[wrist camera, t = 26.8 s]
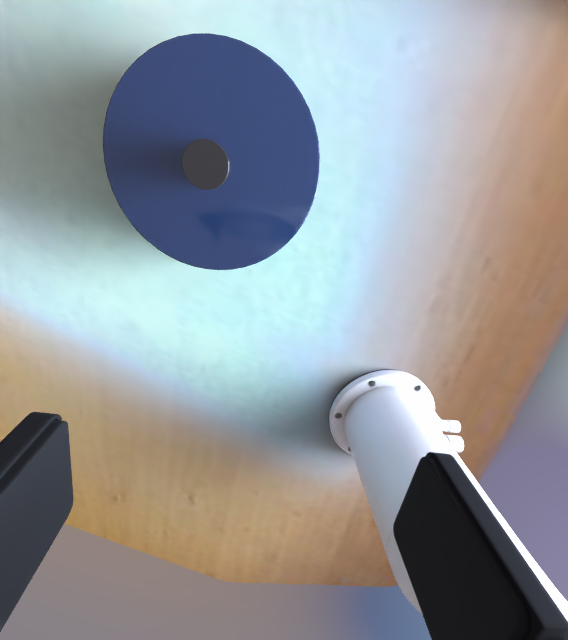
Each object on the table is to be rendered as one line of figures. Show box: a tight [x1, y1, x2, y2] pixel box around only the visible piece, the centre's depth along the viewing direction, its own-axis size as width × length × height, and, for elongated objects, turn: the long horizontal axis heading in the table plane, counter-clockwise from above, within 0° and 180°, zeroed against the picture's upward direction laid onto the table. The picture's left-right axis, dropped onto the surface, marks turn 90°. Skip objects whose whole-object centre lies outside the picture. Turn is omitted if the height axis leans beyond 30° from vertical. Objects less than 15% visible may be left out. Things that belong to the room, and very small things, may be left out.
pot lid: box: [103, 34, 320, 270], centre depth 21 cm, size 14×14×6 cm
